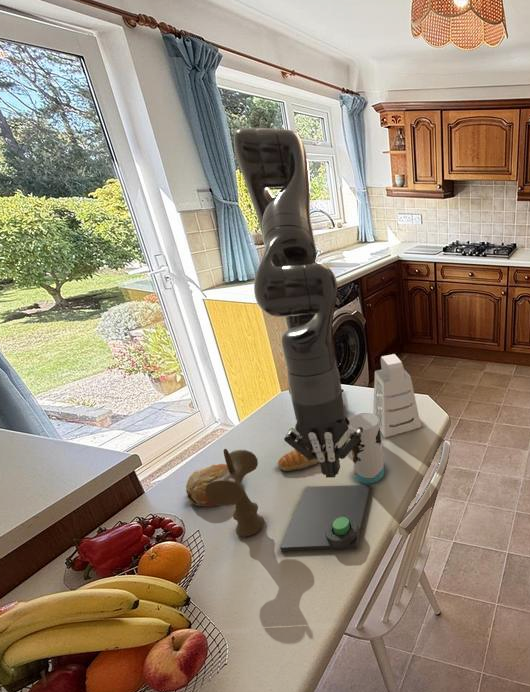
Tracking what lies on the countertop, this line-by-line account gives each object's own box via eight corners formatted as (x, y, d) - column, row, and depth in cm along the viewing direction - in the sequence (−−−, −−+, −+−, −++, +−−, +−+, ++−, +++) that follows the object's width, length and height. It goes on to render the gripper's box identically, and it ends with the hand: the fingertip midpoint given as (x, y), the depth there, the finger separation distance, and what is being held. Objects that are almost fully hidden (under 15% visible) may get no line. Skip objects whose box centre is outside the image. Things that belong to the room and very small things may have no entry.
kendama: (225, 550, 77) (193, 468, 68) (244, 511, 85) (218, 433, 76) (258, 546, 77) (231, 465, 68) (274, 508, 86) (252, 431, 77)
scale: (307, 490, 91) (304, 480, 89) (370, 488, 92) (369, 478, 90) (280, 554, 76) (277, 543, 75) (356, 550, 77) (354, 540, 76)
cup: (383, 462, 100) (378, 411, 93) (385, 481, 94) (379, 428, 87) (355, 466, 98) (347, 414, 91) (355, 485, 92) (347, 432, 86)
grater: (384, 437, 109) (377, 371, 100) (373, 418, 117) (365, 355, 108) (421, 426, 113) (417, 363, 104) (407, 408, 122) (403, 348, 112)
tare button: (335, 523, 80) (334, 517, 79) (351, 522, 80) (350, 516, 79) (332, 536, 77) (330, 529, 76) (348, 535, 77) (347, 528, 76)
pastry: (283, 478, 94) (280, 465, 92) (275, 462, 99) (272, 450, 97) (323, 461, 99) (321, 449, 98) (314, 448, 104) (311, 436, 102)
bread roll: (191, 506, 90) (165, 492, 84) (222, 465, 96) (200, 449, 90) (224, 519, 88) (199, 505, 81) (254, 475, 93) (233, 460, 87)
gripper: (363, 378, 68) (373, 459, 76) (281, 379, 67) (300, 461, 75) (354, 403, 61) (366, 488, 69) (263, 404, 60) (286, 490, 68)
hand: (331, 474), depth 72 cm, fingers closed
